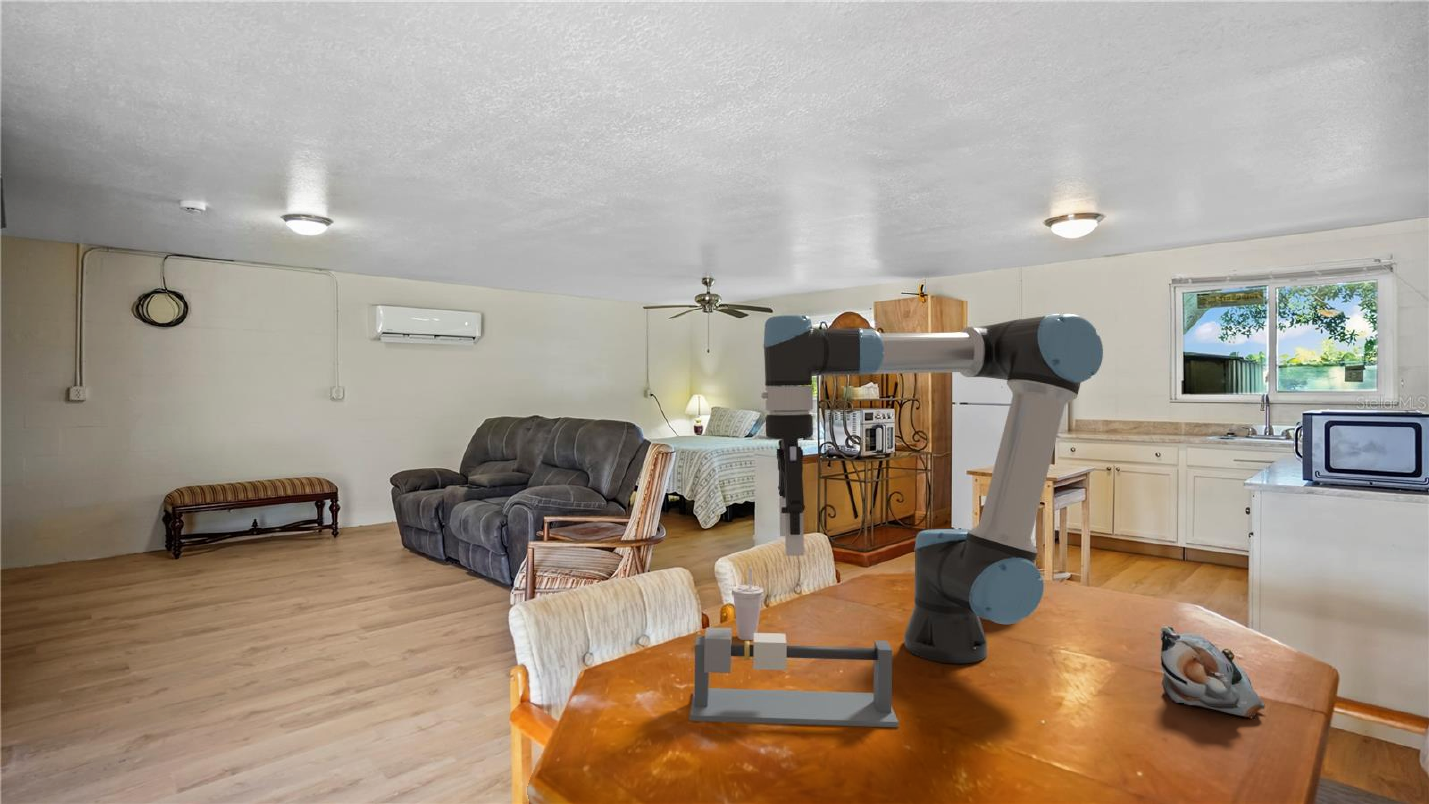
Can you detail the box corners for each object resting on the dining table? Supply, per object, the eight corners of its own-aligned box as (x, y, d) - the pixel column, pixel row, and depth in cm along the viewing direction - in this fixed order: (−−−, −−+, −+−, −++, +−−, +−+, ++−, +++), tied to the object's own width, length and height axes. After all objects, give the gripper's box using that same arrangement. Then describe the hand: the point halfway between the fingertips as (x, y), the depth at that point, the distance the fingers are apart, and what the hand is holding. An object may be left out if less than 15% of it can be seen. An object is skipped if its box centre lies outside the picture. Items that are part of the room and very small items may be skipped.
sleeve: (784, 659, 115) (785, 633, 115) (786, 670, 111) (786, 643, 111) (753, 659, 116) (753, 632, 116) (753, 669, 111) (753, 642, 111)
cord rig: (885, 698, 118) (886, 627, 117) (898, 727, 108) (899, 649, 107) (694, 692, 119) (695, 622, 119) (689, 720, 109) (690, 644, 109)
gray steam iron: (1284, 722, 111) (1269, 651, 106) (1206, 749, 112) (1188, 680, 107) (1216, 658, 125) (1200, 594, 121) (1147, 682, 126) (1130, 619, 122)
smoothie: (760, 644, 142) (761, 572, 142) (728, 641, 143) (729, 570, 143) (765, 633, 148) (765, 564, 148) (734, 630, 150) (734, 562, 149)
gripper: (762, 410, 129) (764, 529, 130) (769, 417, 104) (771, 565, 105) (804, 409, 129) (806, 528, 129) (822, 416, 104) (824, 564, 105)
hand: (791, 545), depth 117 cm, fingers open, 13 cm apart
